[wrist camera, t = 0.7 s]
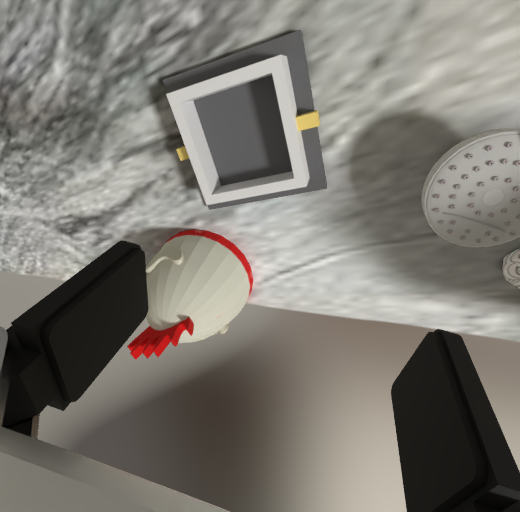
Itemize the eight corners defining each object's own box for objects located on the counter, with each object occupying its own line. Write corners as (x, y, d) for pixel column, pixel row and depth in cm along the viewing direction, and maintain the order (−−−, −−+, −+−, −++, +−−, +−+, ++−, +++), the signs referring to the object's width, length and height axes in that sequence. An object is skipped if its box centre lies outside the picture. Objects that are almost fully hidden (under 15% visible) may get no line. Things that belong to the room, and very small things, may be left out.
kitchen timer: (144, 245, 43) (62, 315, 31) (223, 215, 37) (162, 287, 25) (193, 317, 48) (140, 401, 36) (268, 300, 43) (237, 394, 30)
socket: (306, 29, 26) (300, 23, 23) (330, 184, 32) (328, 197, 29) (164, 81, 31) (142, 82, 28) (209, 207, 37) (196, 220, 34)
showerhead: (623, 148, 19) (515, 268, 25) (557, 130, 25) (482, 230, 31) (478, 107, 20) (404, 232, 26) (447, 99, 26) (393, 202, 32)
